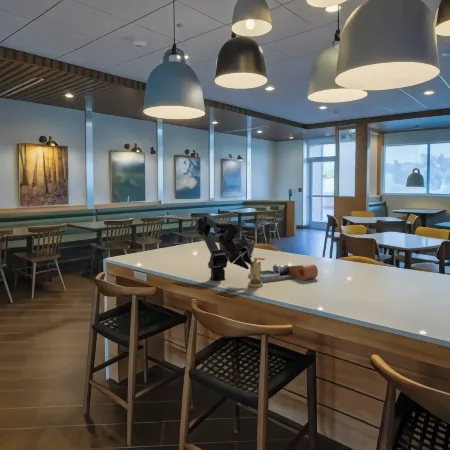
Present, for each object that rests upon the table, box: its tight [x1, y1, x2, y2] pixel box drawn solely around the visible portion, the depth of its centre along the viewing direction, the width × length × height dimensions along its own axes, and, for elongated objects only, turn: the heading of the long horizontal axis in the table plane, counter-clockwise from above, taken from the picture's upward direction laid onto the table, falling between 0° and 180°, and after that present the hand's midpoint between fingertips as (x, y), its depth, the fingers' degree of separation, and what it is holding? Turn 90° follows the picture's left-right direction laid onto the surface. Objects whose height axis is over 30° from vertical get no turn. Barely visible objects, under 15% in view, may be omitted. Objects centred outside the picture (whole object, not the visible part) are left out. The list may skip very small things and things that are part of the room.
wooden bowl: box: [218, 238, 255, 258], centre depth 270 cm, size 25×25×10 cm
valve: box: [247, 257, 266, 288], centre depth 190 cm, size 8×7×14 cm
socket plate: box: [247, 263, 295, 284], centre depth 206 cm, size 20×14×7 cm
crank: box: [288, 263, 319, 281], centre depth 208 cm, size 20×8×8 cm, turn 31°
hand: (250, 266), depth 190 cm, fingers open, 9 cm apart
